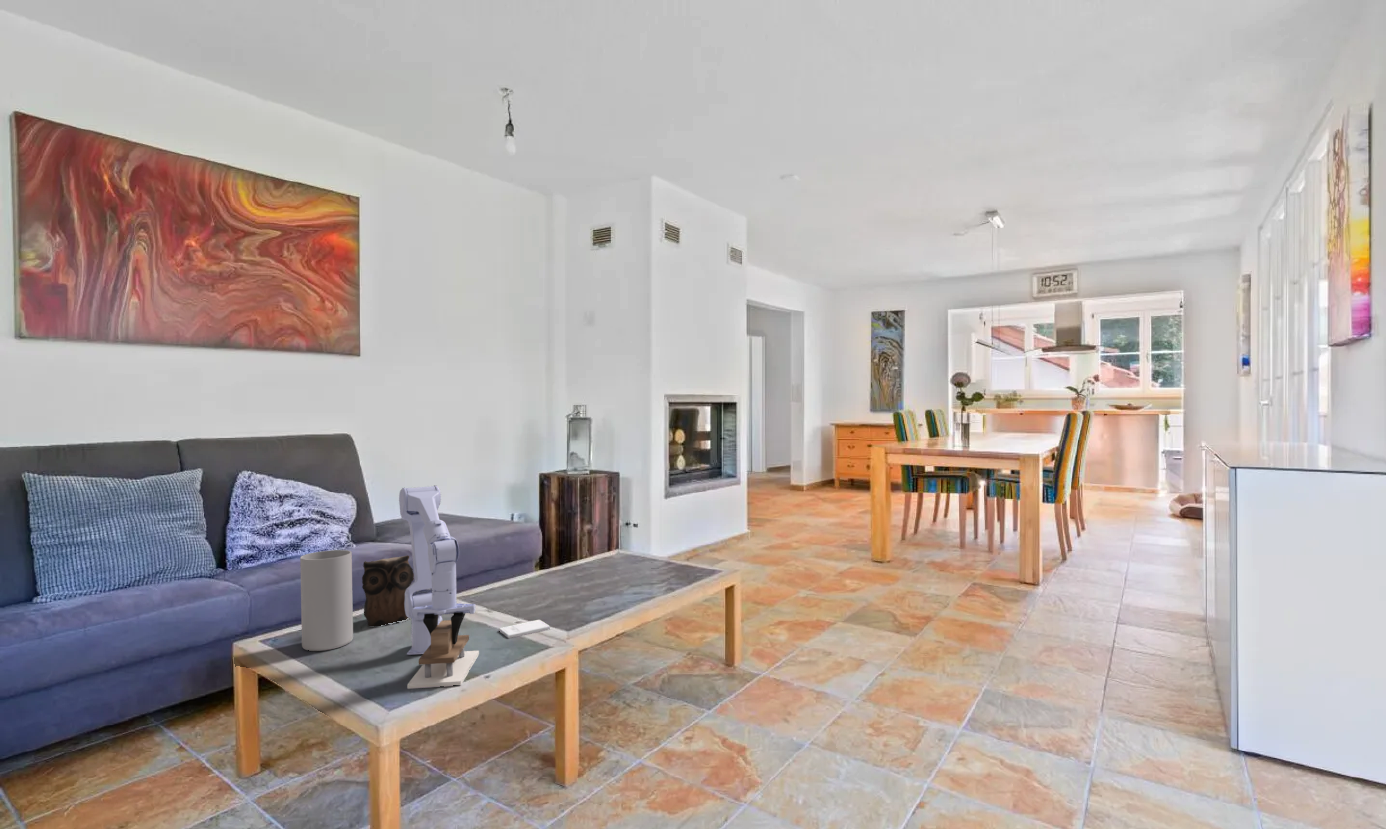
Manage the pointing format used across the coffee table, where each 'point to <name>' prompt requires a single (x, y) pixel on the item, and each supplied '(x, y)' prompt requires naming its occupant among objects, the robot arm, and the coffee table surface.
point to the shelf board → (444, 656)
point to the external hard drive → (524, 628)
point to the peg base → (444, 672)
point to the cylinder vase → (326, 600)
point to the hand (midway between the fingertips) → (445, 643)
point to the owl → (386, 589)
